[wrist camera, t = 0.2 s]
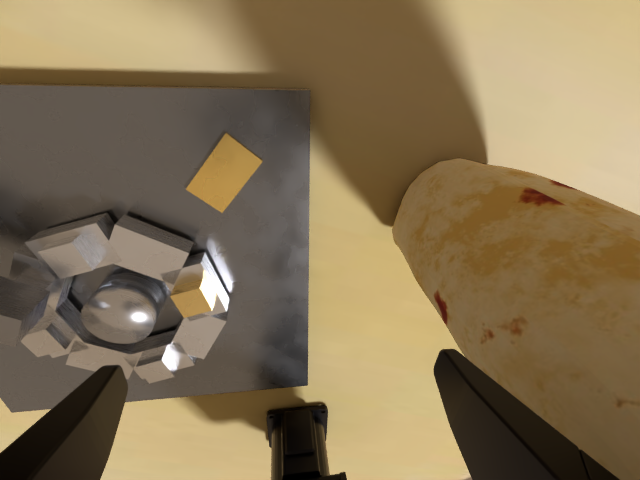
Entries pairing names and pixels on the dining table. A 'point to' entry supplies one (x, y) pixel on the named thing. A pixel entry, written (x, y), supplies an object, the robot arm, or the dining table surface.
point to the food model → (536, 295)
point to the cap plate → (165, 222)
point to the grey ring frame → (94, 252)
